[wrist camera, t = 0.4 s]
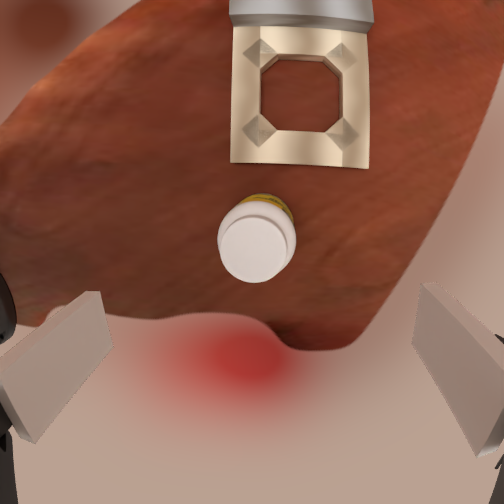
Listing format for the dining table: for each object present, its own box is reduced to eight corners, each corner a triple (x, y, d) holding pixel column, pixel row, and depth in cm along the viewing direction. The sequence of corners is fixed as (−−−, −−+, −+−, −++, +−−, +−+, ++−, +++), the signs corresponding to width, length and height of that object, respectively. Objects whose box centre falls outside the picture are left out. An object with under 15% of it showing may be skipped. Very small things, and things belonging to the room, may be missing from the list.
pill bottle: (305, 218, 32) (317, 246, 22) (267, 264, 34) (260, 310, 23) (257, 179, 32) (245, 187, 21) (219, 226, 33) (191, 257, 23)
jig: (233, 162, 31) (224, 162, 27) (237, 3, 27) (230, -18, 22) (363, 168, 30) (377, 169, 26) (359, 10, 26) (370, -11, 21)
